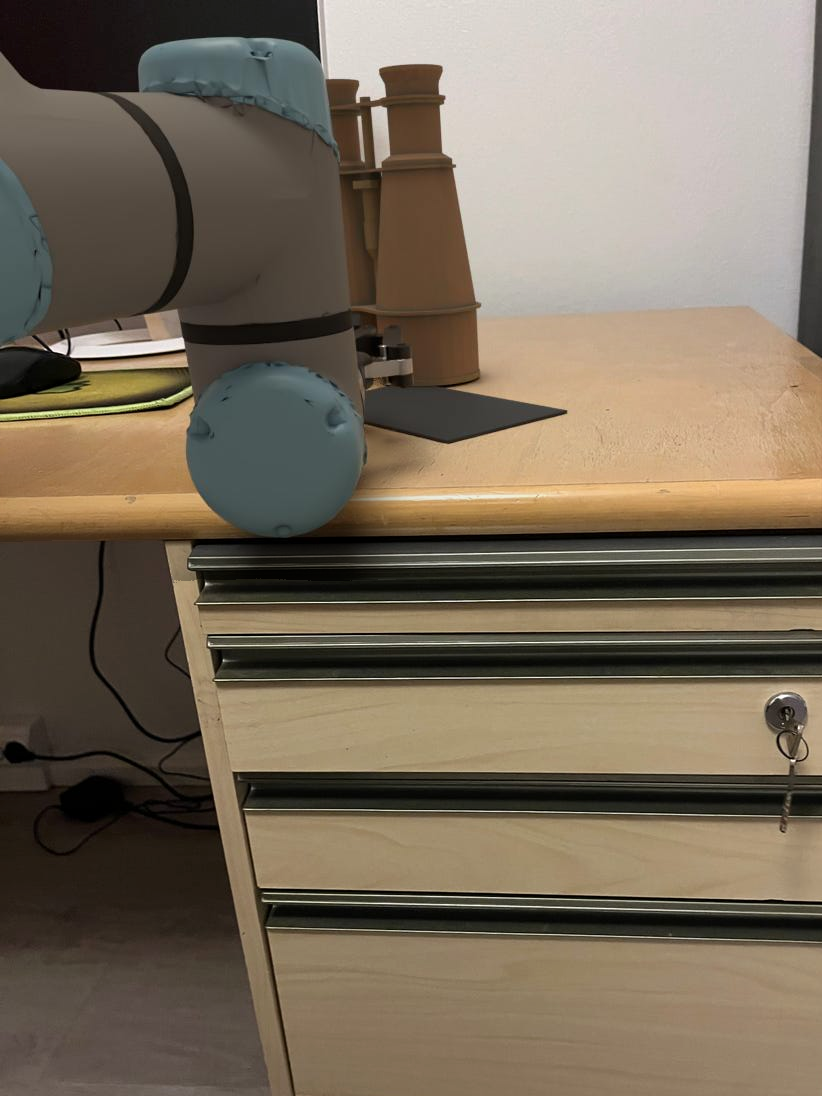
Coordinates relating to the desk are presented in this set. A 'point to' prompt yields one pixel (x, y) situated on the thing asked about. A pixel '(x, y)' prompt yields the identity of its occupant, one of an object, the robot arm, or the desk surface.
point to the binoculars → (406, 224)
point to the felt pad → (447, 412)
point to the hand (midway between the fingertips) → (317, 335)
